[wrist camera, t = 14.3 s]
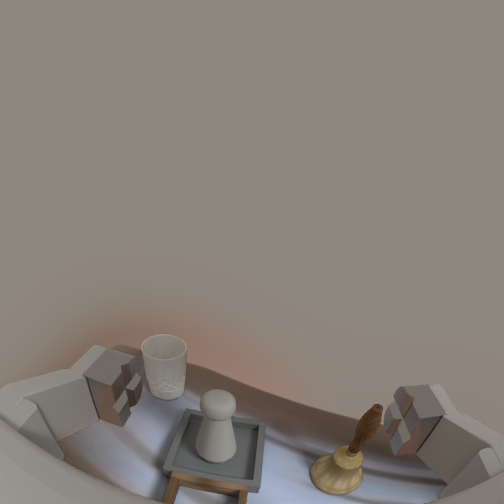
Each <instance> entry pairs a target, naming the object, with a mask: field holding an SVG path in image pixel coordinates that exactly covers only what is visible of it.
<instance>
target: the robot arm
mask: <svg viewBox="0 0 504 504" xmlns="http://www.w3.org/2000/svg"><path fill="white" fill-rule="evenodd" d="M139 368H140V364H139V359H138V358H137V357H135V356H132V355H129V354H126V353H122V352H119V351H116V350H113V349H109V348H106V347H103V346H100V345H93V346H92V347H91V348H90V349H89V350H88V351H87V352H86V353H85V354H84V355H83V356H82V357H81V358H80V359H79V360H78V361H77V362H76V363H75V364H74V365H73V366H72V367H71V368H70V369H69V370H67V369H62V370H58V371H54V372H51V373H47V374H44V375H40V376H36V377H32V378H28V379H24V380H20V381H16V382H12V383H8V384H6V385H5V386H4V387H3V388H2V389H1V390H0V504H165V503H162V502H158V501H155V500H152V499H149V498H146V497H143V496H140V495H137V494H134V493H131V492H129V491H126V490H123V489H121V488H118V487H116V486H113V485H111V484H109V483H106V482H104V481H102V480H100V479H97V478H95V477H93V476H91V475H89V474H87V473H85V472H83V471H81V470H79V469H77V468H75V467H73V466H71V465H69V464H68V463H66V462H64V461H62V460H63V458H64V454H63V452H62V450H61V449H60V447H59V446H58V444H57V442H58V441H60V440H62V439H64V438H66V437H68V436H70V435H72V434H74V433H76V432H78V431H80V430H82V429H84V428H86V427H88V426H90V425H91V424H93V423H95V422H97V421H99V419H101V420H104V421H106V422H109V423H112V424H115V425H118V426H121V427H123V426H124V424H125V423H126V421H127V419H128V418H129V416H130V414H131V411H130V407H132V406H134V405H136V404H137V403H138V401H139V399H140V396H141V393H142V378H141V377H140V375H139V374H138V373H137V371H138V370H139ZM394 399H395V401H394V402H393V403H391V404H390V405H389V406H388V408H387V410H386V412H385V416H384V427H385V430H386V432H387V433H388V434H390V435H391V436H392V437H391V439H390V441H389V442H390V445H391V448H392V451H393V454H394V456H399V455H407V454H414V453H416V455H417V456H418V457H419V458H420V459H421V460H422V461H423V462H424V463H425V464H426V465H427V466H428V467H430V468H431V469H432V470H433V471H434V472H435V473H436V474H437V475H438V476H439V477H440V478H441V479H442V480H444V481H445V482H446V483H447V484H448V485H447V486H446V487H445V488H444V489H442V490H441V491H440V492H439V494H438V495H437V496H438V499H439V500H436V501H432V502H429V503H426V504H504V437H503V436H502V435H500V434H498V433H496V432H494V431H493V430H491V429H489V428H487V427H486V426H484V425H482V424H481V423H479V422H477V421H475V420H474V419H472V418H470V417H468V416H467V415H465V414H463V413H462V412H460V413H458V412H457V410H456V409H455V407H454V406H453V404H452V402H451V401H450V399H449V398H448V396H447V394H446V393H445V391H444V390H443V389H442V387H441V386H440V385H439V384H437V383H436V384H426V385H418V386H404V387H399V388H398V389H397V390H396V392H395V394H394Z"/></svg>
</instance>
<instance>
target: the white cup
mask: <svg viewBox="0 0 504 504" xmlns="http://www.w3.org/2000/svg"><path fill="white" fill-rule="evenodd" d="M141 351H142V356H143V362H144V368H145V373H146V377H147V380H148V384H149V388H150V391H151V393H152V394H153V395H154V396H155V397H157V398H160V399H163V400H173V399H176V398H178V397H180V396H181V395H182V394H183V393H184V389H185V379H186V355H187V345H186V343H185V342H184V341H183V340H182V339H181V338H179V337H176V336H174V335H169V334H158V335H153V336H150V337H148V338H146V339H145V340H144V341H143V342H142V345H141Z"/></svg>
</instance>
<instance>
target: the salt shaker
mask: <svg viewBox="0 0 504 504" xmlns="http://www.w3.org/2000/svg"><path fill="white" fill-rule="evenodd" d="M200 409H201V411H202V413H203V414H204V418H203V421H202V424H201V427H200V430H199V433H198V436H197V439H196V445H195V448H196V450H197V452H198V454H199V456H201V457H202V458H204V459H205V460H206V461H207V462H208V463H210V464H223V463H224V462H225V461H227V460H229V459H231V458H232V457H233V455H234V454H235V452H236V450H237V447H236V440H235V435H234V431H233V426H232V421H231V417H232V415H233V414H234V413H235V411H236V401H235V398H234V396H233V395H232V394H231V393H229V392H227V391H225V390H221V389H213V390H210V391H207V392H205V393H204V394H203V395H202V396H201V401H200Z"/></svg>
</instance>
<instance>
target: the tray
mask: <svg viewBox="0 0 504 504" xmlns="http://www.w3.org/2000/svg"><path fill="white" fill-rule="evenodd" d="M203 418H204V414H203V413H202V411H197V410H192V409H188V408H186V410H185V412H184V415H183V417H182V420H181V422H180V425H179V428H178V430H177V433H176V435H175V438H174V440H173V443H172V445H171V448H170V450H169V453H168V455H167V458H166V460H165V463H164V465H163V468H162V469H163V473H164V476H168V477H171V474H172V471H176V472H180V473H184V474H188V475H192V476H197V477H202V478H207V479H212V480H217V481H223V482H230V483H237V484H244V485H249V487H248V492H252V493H258V492H259V489H260V483H261V473H262V462H263V451H264V440H265V428H266V421H259V420H251V419H243V418H236V417H231V421H232V426H233V431H234V435H235V440H236V447H237V450H236V452H235V454H234V455H233V457H232V458H231V459H229V460H227V461H225V462H224V463H223V464H210V463H208V462H207V461H206V460H205V459H204V458H202V457H201V456H199V454H198V452H197V450H196V448H195V445H196V439H197V436H198V433H199V430H200V427H201V424H202V421H203Z"/></svg>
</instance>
